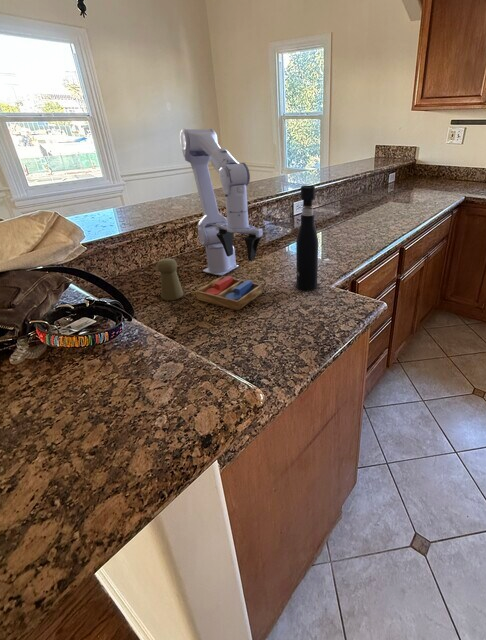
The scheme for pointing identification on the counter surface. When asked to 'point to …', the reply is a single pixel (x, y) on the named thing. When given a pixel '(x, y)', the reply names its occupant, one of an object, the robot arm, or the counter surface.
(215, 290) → the red spoon
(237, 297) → the blue spoon
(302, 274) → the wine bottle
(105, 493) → the counter surface
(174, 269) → the olive green pawn
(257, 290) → the wooden sorting tray
